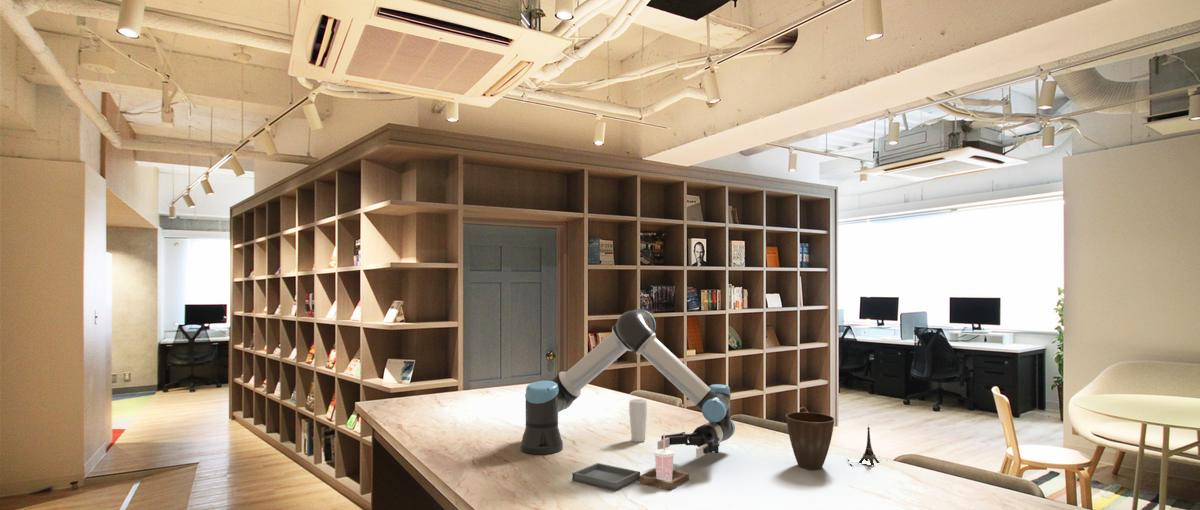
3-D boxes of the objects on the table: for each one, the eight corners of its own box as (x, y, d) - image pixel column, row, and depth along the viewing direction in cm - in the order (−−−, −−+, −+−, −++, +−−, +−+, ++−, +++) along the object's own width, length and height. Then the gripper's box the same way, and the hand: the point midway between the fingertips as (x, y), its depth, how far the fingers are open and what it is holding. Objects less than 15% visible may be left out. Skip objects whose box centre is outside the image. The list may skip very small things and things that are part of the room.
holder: (639, 483, 185) (639, 476, 185) (657, 473, 194) (657, 467, 194) (671, 490, 179) (671, 483, 179) (689, 480, 188) (689, 473, 188)
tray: (572, 480, 187) (572, 473, 187) (597, 470, 198) (597, 462, 198) (616, 491, 178) (616, 483, 178) (640, 479, 188) (640, 471, 189)
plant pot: (836, 463, 205) (836, 414, 206) (833, 476, 192) (832, 423, 192) (790, 457, 211) (789, 410, 212) (783, 470, 198) (782, 419, 199)
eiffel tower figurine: (886, 460, 210) (885, 420, 211) (899, 469, 200) (898, 427, 201) (841, 459, 211) (840, 420, 212) (851, 468, 201) (850, 427, 202)
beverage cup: (676, 479, 188) (676, 433, 189) (672, 486, 182) (671, 437, 183) (656, 477, 190) (656, 431, 191) (651, 483, 184) (651, 436, 185)
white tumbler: (646, 443, 230) (645, 402, 231) (628, 442, 232) (627, 402, 232) (648, 438, 237) (648, 399, 238) (630, 438, 238) (630, 398, 239)
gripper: (742, 452, 203) (714, 468, 185) (675, 441, 217) (643, 455, 200) (742, 429, 203) (714, 443, 186) (674, 419, 217) (643, 431, 200)
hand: (677, 449), depth 193 cm, fingers open, 13 cm apart
